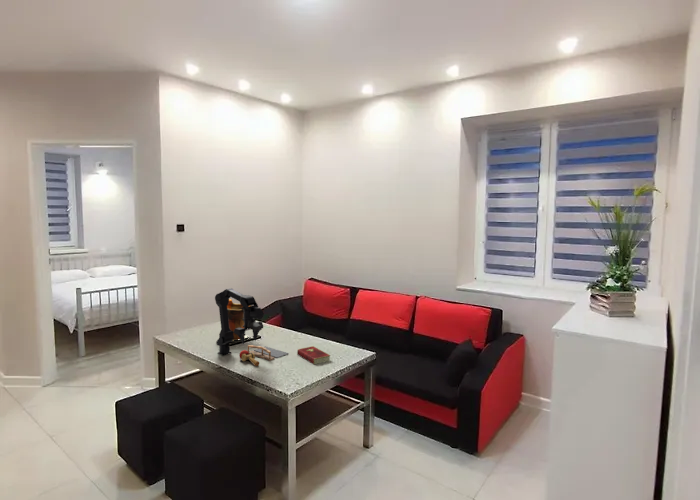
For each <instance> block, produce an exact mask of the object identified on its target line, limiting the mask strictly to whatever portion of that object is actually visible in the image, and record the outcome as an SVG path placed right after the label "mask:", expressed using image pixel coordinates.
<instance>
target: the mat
mask: <svg viewBox="0 0 700 500" xmlns="http://www.w3.org/2000/svg"><path fill="white" fill-rule="evenodd" d="M263 347H264V348H266V349H268V350H269V351H271V357H275V358H276V359H280V358H282V357H284V356H287V355H289V352H286V351H282V350H279V349H276V348H272V347H268V346H267V345H266V346H263ZM253 351H255V352H259V353H262V349H257V348H255V349H253ZM263 354H265V355H268V356H269V353H267V352H265V351H264V350H263Z"/></svg>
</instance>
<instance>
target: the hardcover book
mask: <svg viewBox="0 0 700 500" xmlns="http://www.w3.org/2000/svg"><path fill="white" fill-rule="evenodd" d="M296 353H297V356H299V357H301V358H302V359H304V360H306V361H308V362H309V363H311V364H313V365H314V364H315V365H317V363H318V364H322V363H326V362H329V360H330V359H331V358H330V357H331V355H330V354H328V353H327V352H325V351H323V350H321V349H320V348H318V347H315V346H314V345H313V346H307V347H303V348H299V349H297V352H296ZM325 361H326V362H325ZM321 362H322V363H321Z"/></svg>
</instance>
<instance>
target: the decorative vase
mask: <svg viewBox="0 0 700 500" xmlns="http://www.w3.org/2000/svg"><path fill="white" fill-rule="evenodd" d="M242 307H243V306H242V305H241V304H240V303H234V302H233V300H232V299H231V298H229V303H228V305H227V311H228V320H229V329H230V330H231V331H233V336H234V337H233V341H232V342H235V341H234V340H238V339H240V338H239V336H238V335H237V334H235V333H234V329H236V328H239V327H240V328H244V327H243V325H244V321H243V319H244V310H243V309H241V308H242ZM248 307H249V306H248ZM249 336H250V335H247V334H245V336H244V338H247V337H249ZM249 338H250V337H249Z"/></svg>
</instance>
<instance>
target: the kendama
mask: <svg viewBox="0 0 700 500" xmlns="http://www.w3.org/2000/svg"><path fill="white" fill-rule="evenodd" d="M238 356H239V359H240V360H241V361H242V362H246V361H248V360H249V361H250V362H251V363H252V364H253V365H254V366H255V367H258V366H259V365H260V361H258V360H257V359H256V356H255V355H254V353H250V354H249V352H248V349H244V350H241V351H240V353H239V355H238Z"/></svg>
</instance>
